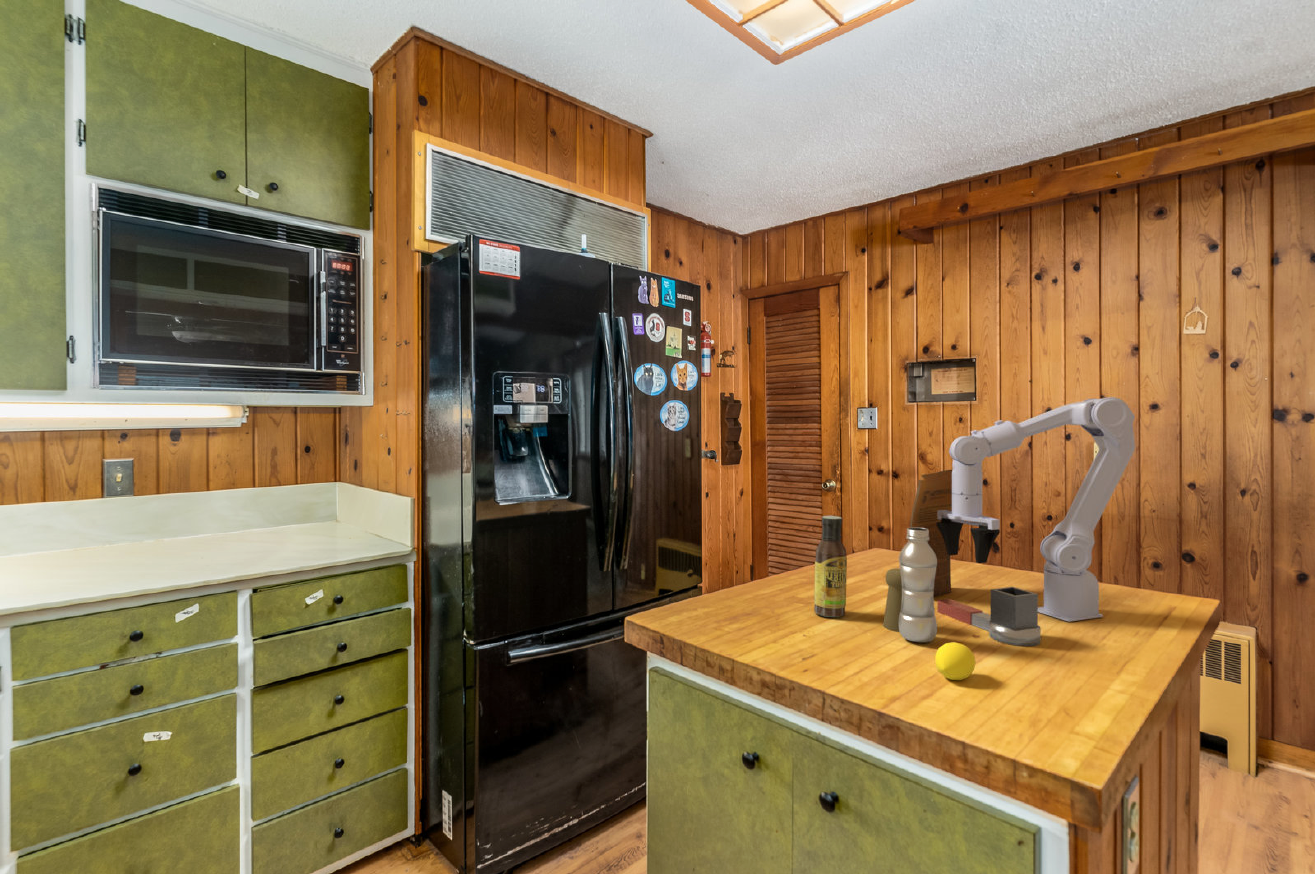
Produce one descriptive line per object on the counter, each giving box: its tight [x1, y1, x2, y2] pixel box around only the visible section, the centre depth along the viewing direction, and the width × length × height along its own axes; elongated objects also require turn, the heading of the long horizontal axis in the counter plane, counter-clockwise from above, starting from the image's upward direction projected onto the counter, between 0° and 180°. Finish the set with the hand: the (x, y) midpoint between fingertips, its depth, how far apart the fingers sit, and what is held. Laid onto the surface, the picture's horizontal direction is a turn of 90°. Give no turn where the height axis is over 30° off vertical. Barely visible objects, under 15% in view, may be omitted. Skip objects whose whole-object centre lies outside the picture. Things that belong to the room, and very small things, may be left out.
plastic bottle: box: [898, 527, 938, 643], centre depth 111 cm, size 6×7×20 cm
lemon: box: [934, 641, 977, 681], centre depth 95 cm, size 7×5×5 cm
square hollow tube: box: [990, 586, 1039, 631], centre depth 111 cm, size 5×5×6 cm
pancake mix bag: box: [909, 469, 953, 598], centre depth 140 cm, size 7×19×28 cm, turn 124°
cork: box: [882, 568, 902, 633], centre depth 118 cm, size 6×6×11 cm
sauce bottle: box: [813, 515, 848, 618], centre depth 126 cm, size 6×6×20 cm
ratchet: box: [937, 598, 1042, 647], centre depth 118 cm, size 8×21×6 cm, turn 18°
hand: (966, 558), depth 129 cm, fingers open, 7 cm apart
